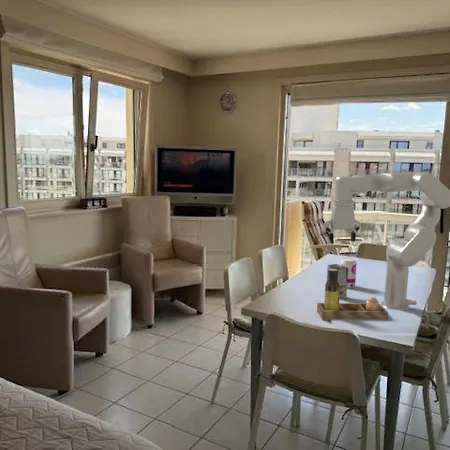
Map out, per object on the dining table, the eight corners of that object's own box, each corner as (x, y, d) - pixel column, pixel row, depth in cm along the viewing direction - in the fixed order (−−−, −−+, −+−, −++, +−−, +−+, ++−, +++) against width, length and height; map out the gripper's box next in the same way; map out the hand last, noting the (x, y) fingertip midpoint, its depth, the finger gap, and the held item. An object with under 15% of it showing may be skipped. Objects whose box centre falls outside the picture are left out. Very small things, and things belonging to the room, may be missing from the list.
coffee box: (347, 299, 214) (349, 267, 212) (336, 300, 212) (338, 269, 209) (335, 293, 223) (337, 263, 220) (325, 295, 220) (326, 264, 218)
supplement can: (357, 286, 236) (359, 259, 234) (350, 289, 230) (352, 262, 228) (344, 283, 242) (345, 257, 240) (336, 286, 236) (338, 259, 234)
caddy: (378, 312, 197) (378, 303, 196) (387, 321, 186) (387, 312, 186) (316, 311, 197) (317, 302, 196) (322, 320, 186) (322, 311, 185)
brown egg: (375, 312, 194) (376, 295, 193) (379, 316, 189) (380, 299, 188) (364, 312, 194) (365, 295, 193) (367, 316, 189) (368, 298, 188)
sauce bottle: (340, 315, 188) (342, 271, 185) (326, 316, 188) (328, 271, 185) (336, 310, 195) (338, 267, 192) (322, 310, 194) (324, 267, 191)
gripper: (359, 202, 198) (358, 239, 200) (322, 203, 197) (321, 240, 200) (365, 204, 190) (363, 242, 193) (326, 205, 190) (325, 243, 192)
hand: (342, 241), depth 196 cm, fingers open, 9 cm apart
